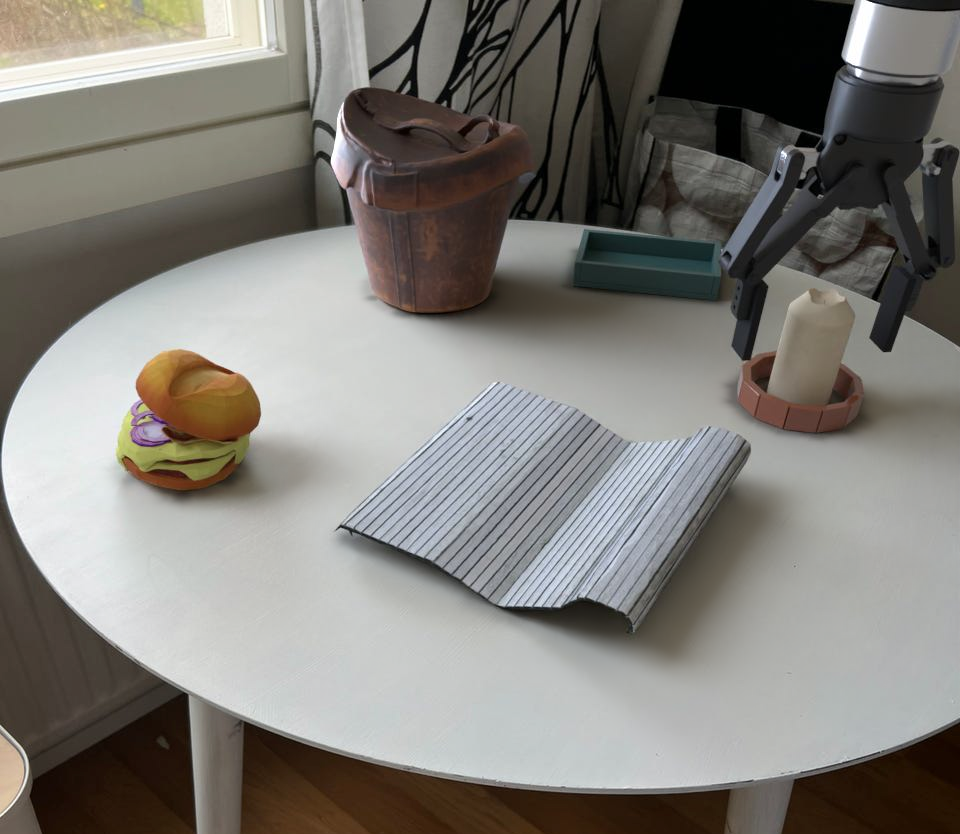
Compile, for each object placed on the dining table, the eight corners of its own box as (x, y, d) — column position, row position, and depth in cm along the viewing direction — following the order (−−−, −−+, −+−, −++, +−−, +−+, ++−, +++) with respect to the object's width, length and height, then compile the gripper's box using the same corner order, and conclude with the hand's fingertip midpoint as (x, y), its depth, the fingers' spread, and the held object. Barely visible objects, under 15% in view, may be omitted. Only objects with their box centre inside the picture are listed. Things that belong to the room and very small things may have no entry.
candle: (754, 401, 86) (781, 294, 79) (782, 379, 89) (811, 274, 82) (810, 423, 84) (843, 315, 77) (837, 399, 87) (871, 293, 80)
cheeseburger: (122, 431, 80) (125, 319, 73) (252, 449, 83) (265, 343, 77) (109, 500, 72) (111, 383, 66) (252, 517, 76) (267, 406, 69)
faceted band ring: (850, 378, 90) (857, 357, 88) (861, 438, 82) (869, 416, 81) (736, 366, 91) (741, 344, 89) (737, 424, 83) (743, 401, 82)
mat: (487, 405, 84) (489, 356, 81) (741, 488, 77) (755, 437, 73) (332, 544, 70) (327, 492, 67) (627, 664, 62) (637, 611, 59)
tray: (716, 265, 108) (721, 241, 106) (716, 300, 101) (721, 276, 99) (581, 251, 109) (583, 228, 107) (572, 285, 103) (574, 262, 101)
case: (548, 319, 97) (563, 127, 84) (352, 335, 93) (338, 137, 81) (504, 249, 109) (512, 72, 97) (330, 261, 106) (315, 79, 93)
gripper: (1017, 54, 72) (918, 322, 87) (712, 58, 69) (663, 336, 84) (1077, 82, 67) (961, 361, 82) (749, 88, 64) (691, 378, 79)
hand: (810, 349), depth 83 cm, fingers open, 12 cm apart
